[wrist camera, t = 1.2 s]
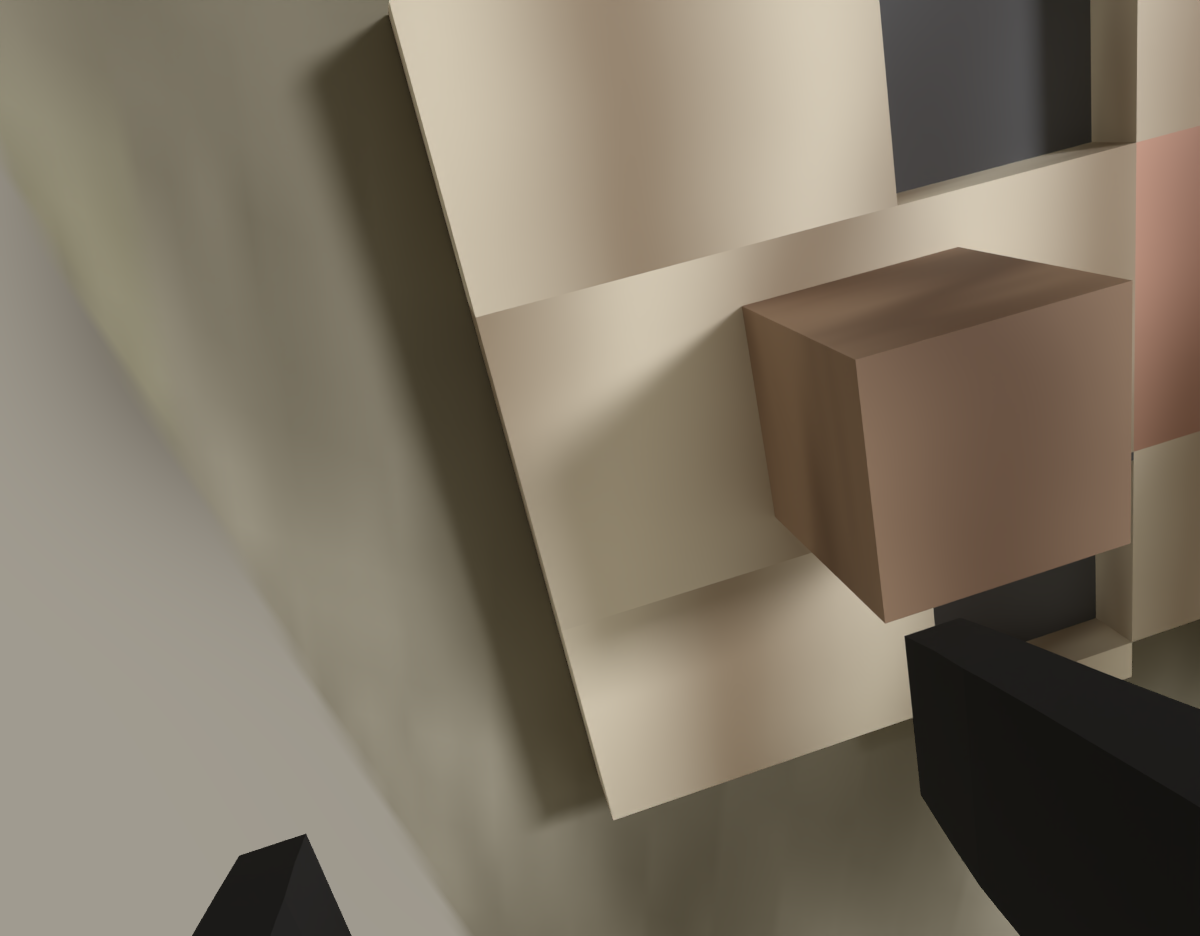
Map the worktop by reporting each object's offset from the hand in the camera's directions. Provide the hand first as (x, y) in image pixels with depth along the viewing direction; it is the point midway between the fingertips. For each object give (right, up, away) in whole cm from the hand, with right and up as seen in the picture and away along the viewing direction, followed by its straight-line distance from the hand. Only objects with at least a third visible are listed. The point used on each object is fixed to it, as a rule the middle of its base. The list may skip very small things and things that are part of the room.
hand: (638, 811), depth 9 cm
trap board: (+7, +6, +11) cm, 14 cm away
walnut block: (+5, +5, +9) cm, 11 cm away
